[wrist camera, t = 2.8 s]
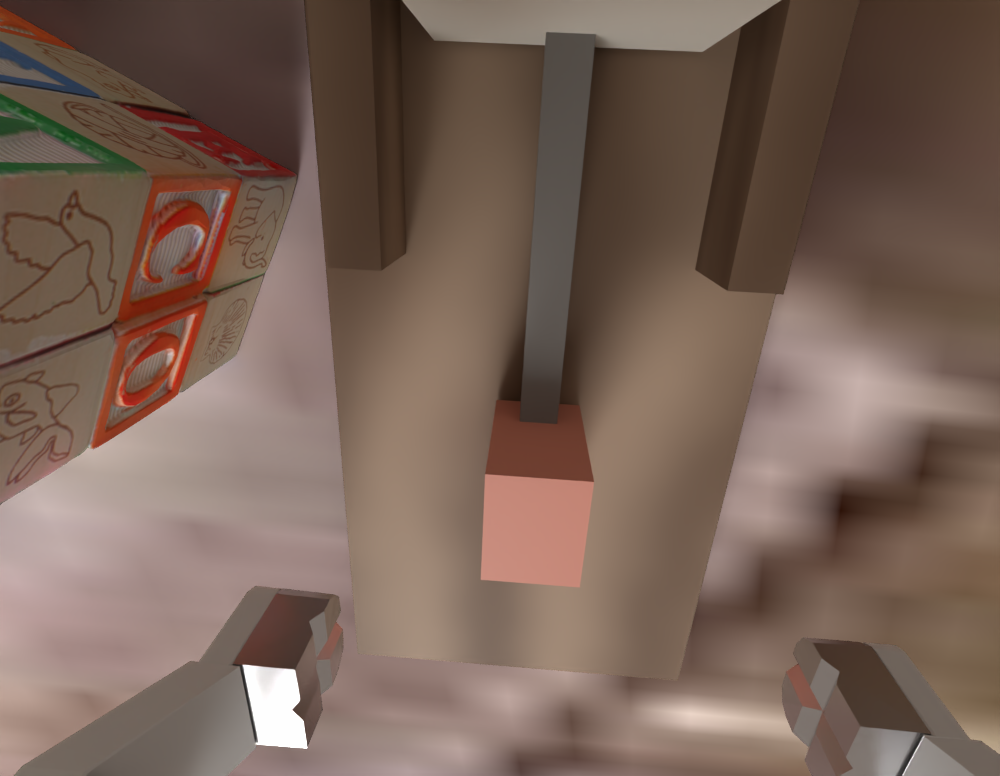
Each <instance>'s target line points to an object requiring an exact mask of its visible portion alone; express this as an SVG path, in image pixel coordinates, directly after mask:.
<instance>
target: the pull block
mask: <svg viewBox="0 0 1000 776" xmlns="http://www.w3.org/2000/svg"><path fill="white" fill-rule="evenodd" d="M402 1H403V2H404V4H405V5H406V6H407V7H408V8H409V10H410V11H411V12H412V13H413V15H414V16H415V17H416V18H417V20H418V21H419V22H420V23H421V25H422V26H423V27H424V28H425V30H426V31H427V32H428V33H429V35H430V36H431V37H432V38H433V40H434V41H458V42H481V43H505V44H528V45H545V52H544V67H543V81H542V96H541V111H540V125H539V140H538V155H537V170H536V184H535V199H534V214H533V228H532V243H531V258H530V273H529V287H528V302H527V317H526V331H525V346H524V361H523V376H522V390H521V401H506V400H496V407H495V413H494V420H493V426H492V433H491V439H490V446H489V452H488V459H487V465H486V472H485V489H484V513H483V537H482V562H481V580H490V581H503V582H516V583H529V584H541V585H554V586H567V587H580V582H581V575H582V567H583V560H584V553H585V546H586V538H587V531H588V524H589V516H590V509H591V502H592V494H593V487H594V478H593V473H592V468H591V463H590V457H589V452H588V447H587V442H586V437H585V431H584V426H583V421H582V416H581V411H580V405H567V404H559V400H560V390H561V380H562V370H563V360H564V350H565V340H566V330H567V320H568V309H569V299H570V289H571V279H572V269H573V259H574V249H575V239H576V229H577V219H578V209H579V199H580V189H581V179H582V169H583V159H584V149H585V139H586V129H587V119H588V108H589V98H590V88H591V78H592V68H593V58H594V48H595V47H598V48H622V49H645V50H669V51H692V52H703V51H705V50H706V49H708V48H709V47H711V46H712V45H714V44H715V43H717V42H718V41H720V40H721V39H723V38H724V37H726V36H727V35H729V34H731V33H732V32H734V31H735V30H737V29H738V28H740V27H741V26H743V25H744V24H746V23H747V22H749V21H750V20H752V19H753V18H755V17H756V16H758V15H759V14H761V13H762V12H764V11H766V10H767V9H769V8H770V7H772V6H773V5H775V4H776V3H778V2H779V1H781V0H402Z"/></svg>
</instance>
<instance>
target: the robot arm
mask: <svg viewBox="0 0 1000 776" xmlns="http://www.w3.org/2000/svg"><path fill="white" fill-rule="evenodd" d="M340 611H341V608H340V601H339V597H338V596H336V595H333V594H325V593H317V592H308V591H300V590H291V589H279V588H270V587H262V586H255V587H254V588H252V589H251V590H249V591H248V592H247V593H246V595H245V596H244V598H243V599H242V600H241V602H240V603H239V605H238V606H237V608H236V609H235V611H234V612H233V613H232V615H231V616H230V618H229V619H228V621H227V622H226V623H225V625H224V626H223V628H222V629H221V631H220V632H219V633H218V635H217V636H216V638H215V639H214V641H213V642H212V644H211V645H210V646H209V648H208V649H207V651H206V652H205V654H204V655H203V656H202V658H201V659H200V661H199V662H195V661H190V662H188V663H186V664H185V665H183V666H182V667H180V668H178V669H177V670H175V671H174V672H172V673H170V674H169V675H167V676H166V677H164V678H162V679H161V680H159V681H158V682H156V683H154V684H153V685H151V686H150V687H148V688H146V689H145V690H143V691H142V692H140V693H138V694H137V695H135V696H134V697H132V698H130V699H129V700H127V701H126V702H124V703H122V704H121V705H119V706H118V707H116V708H114V709H113V710H111V711H110V712H108V713H106V714H105V715H103V716H102V717H100V718H98V719H97V720H95V721H94V722H92V723H90V724H89V725H87V726H86V727H84V728H82V729H81V730H79V731H78V732H76V733H74V734H73V735H71V736H70V737H68V738H66V739H65V740H63V741H62V742H60V743H58V744H57V745H55V746H54V747H52V748H50V749H49V750H47V751H46V752H44V753H42V754H41V755H39V756H38V757H36V758H34V759H33V760H31V761H30V762H28V763H26V764H25V765H23V766H22V767H21V768H20V769H19V770H18V771H17V773H16V774H15V775H14V776H227V775H228V774H229V773H230V772H231V771H232V770H233V769H234V768H236V767H237V766H238V765H239V764H240V763H241V762H242V761H243V760H244V759H245V758H246V757H247V756H248V755H249V754H250V753H251V752H252V751H253V750H254V749H255V748H256V744H260V745H273V746H286V747H299V748H307V747H308V744H309V742H310V739H311V737H312V735H313V732H314V730H315V727H316V725H317V722H318V720H319V718H320V715H321V713H322V710H323V708H322V699H321V694H323V693H324V692H325V691H326V690H328V689H329V688H330V687H331V686H332V685H333V683H334V680H335V678H336V675H337V672H338V670H339V665H340V661H341V657H342V653H343V629H342V628H341V627H340V626H339V625H338V624H337V622H336V620H337V618H338V616H339V614H340ZM793 654H794V656H795V658H796V660H797V662H798V664H797V665H795V666H794V667H792V668H791V669H790V670H788V671H787V672H786V674H785V678H784V681H783V684H782V702H783V707H784V711H785V715H786V718H787V720H788V723H789V725H790V727H791V730H792V732H793V733H794V734H795V735H796V736H797V737H798V738H799V739H800V740H801V741H802V742H803V743H805V744H806V745H807V746H808V749H807V753H806V757H805V762H806V764H807V766H808V769H809V771H810V773H811V775H812V776H1000V754H998V753H997V752H996V751H994V750H993V749H991V748H990V747H989V746H987V745H986V744H984V743H983V742H982V741H978V740H970V738H969V737H968V736H967V734H966V733H965V732H964V730H963V729H962V728H961V726H960V725H959V724H958V722H957V721H956V720H955V718H954V717H953V716H952V714H951V713H950V712H949V710H948V709H947V708H946V706H945V705H944V704H943V702H942V701H941V700H940V698H939V697H938V696H937V694H936V693H935V692H934V690H933V689H932V688H931V686H930V685H929V684H928V682H927V681H926V680H925V678H924V677H923V676H922V674H921V673H920V672H919V670H918V669H917V668H916V666H915V665H914V664H913V662H912V661H911V660H910V658H909V657H908V656H907V654H906V653H905V652H904V651H903V650H902V649H900V648H899V647H897V646H896V645H887V644H875V643H860V642H852V641H840V640H828V639H815V638H802V639H801V640H800V641H798V642H797V644H796V647H795V649H794V652H793Z"/></svg>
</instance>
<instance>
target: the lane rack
mask: <svg viewBox="0 0 1000 776" xmlns="http://www.w3.org/2000/svg"><path fill="white" fill-rule="evenodd" d="M859 2H860V0H781V1H779V2H778V3H776V4H775V5H773V6H772V7H770V8H769V9H767V10H766V11H764V12H762V13H761V14H759V15H758V16H756V17H755V18H753V19H752V20H750V21H749V22H747V23H746V24H744V25H743V26H741V27H740V28H738V29H737V30H735V31H734V32H732V33H731V34H729V35H727V36H726V37H724V38H723V39H721V40H720V41H718V42H717V43H715V44H714V45H712V46H711V47H709V48H708V49H706V50H705V51H703V52H692V51H669V50H645V49H622V48H598V47H595V48H594V58H593V68H592V78H591V88H590V98H589V108H588V119H587V129H586V139H585V149H584V159H583V169H582V179H581V189H580V199H579V209H578V219H577V229H576V239H575V249H574V259H573V269H572V279H571V289H570V299H569V309H568V320H567V330H566V340H565V350H564V360H563V370H562V380H561V390H560V400H559V404H567V405H580V411H581V416H582V421H583V426H584V431H585V437H586V442H587V447H588V452H589V457H590V463H591V468H592V473H593V478H594V487H593V494H592V502H591V509H590V516H589V524H588V531H587V538H586V546H585V553H584V560H583V567H582V575H581V582H580V587H567V586H554V585H541V584H529V583H516V582H503V581H490V580H481V562H482V537H483V513H484V489H485V472H486V465H487V459H488V452H489V446H490V439H491V433H492V426H493V420H494V413H495V407H496V400H506V401H521V390H522V376H523V361H524V346H525V331H526V317H527V302H528V287H529V273H530V258H531V243H532V228H533V214H534V199H535V184H536V170H537V155H538V140H539V125H540V111H541V96H542V81H543V67H544V52H545V45H528V44H505V43H481V42H458V41H434V40H433V38H432V37H431V36H430V35H429V33H428V32H427V31H426V30H425V28H424V27H423V26H422V25H421V23H420V22H419V21H418V20H417V18H416V17H415V16H414V15H413V13H412V12H411V11H410V10H409V8H408V7H407V6H406V5H405V4H404V2H403V1H402V0H304V6H305V18H306V30H307V42H308V54H309V67H310V79H311V91H312V103H313V115H314V128H315V140H316V152H317V164H318V176H319V188H320V201H321V213H322V225H323V237H324V249H325V262H326V274H327V286H328V298H329V310H330V322H331V335H332V347H333V359H334V371H335V383H336V396H337V408H338V420H339V432H340V444H341V456H342V469H343V481H344V493H345V505H346V517H347V530H348V542H349V554H350V566H351V578H352V590H353V603H354V615H355V627H356V639H357V651H358V654H366V655H378V656H390V657H402V658H414V659H426V660H438V661H450V662H462V663H474V664H486V665H498V666H510V667H522V668H534V669H546V670H558V671H570V672H582V673H594V674H606V675H618V676H630V677H642V678H654V679H666V680H678V677H679V673H680V669H681V665H682V661H683V657H684V654H685V650H686V646H687V642H688V638H689V634H690V630H691V626H692V622H693V618H694V614H695V610H696V606H697V602H698V598H699V594H700V591H701V587H702V583H703V579H704V575H705V571H706V567H707V563H708V559H709V555H710V551H711V547H712V543H713V539H714V535H715V531H716V528H717V524H718V520H719V516H720V512H721V508H722V504H723V500H724V496H725V492H726V488H727V484H728V480H729V476H730V472H731V468H732V465H733V461H734V457H735V453H736V449H737V445H738V441H739V437H740V433H741V429H742V425H743V421H744V417H745V413H746V409H747V405H748V402H749V398H750V394H751V390H752V386H753V382H754V378H755V374H756V370H757V366H758V362H759V358H760V354H761V350H762V346H763V342H764V339H765V335H766V331H767V327H768V323H769V319H770V315H771V311H772V307H773V303H774V299H775V295H776V294H784V290H785V286H786V283H787V279H788V275H789V271H790V267H791V263H792V260H793V256H794V252H795V248H796V244H797V240H798V236H799V233H800V229H801V225H802V221H803V217H804V213H805V209H806V206H807V202H808V198H809V194H810V190H811V186H812V183H813V179H814V175H815V171H816V167H817V163H818V159H819V156H820V152H821V148H822V144H823V140H824V136H825V132H826V129H827V125H828V121H829V117H830V113H831V109H832V106H833V102H834V98H835V94H836V90H837V86H838V82H839V79H840V75H841V71H842V67H843V63H844V59H845V55H846V52H847V48H848V44H849V40H850V36H851V32H852V29H853V25H854V21H855V17H856V13H857V9H858V5H859Z"/></svg>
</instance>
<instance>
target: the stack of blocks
mask: <svg viewBox="0 0 1000 776" xmlns="http://www.w3.org/2000/svg"><path fill="white" fill-rule="evenodd" d="M296 181H297V174H295V173H293V172H292V171H290V170H288V169H286V168H285V167H283V166H281V165H279V164H277V163H275V162H273V161H271V160H269V159H268V158H266V157H264V156H262V155H260V154H258V153H256V152H254V151H253V150H251V149H249V148H247V147H245V146H243V145H242V144H240V143H238V142H236V141H234V140H232V139H230V138H228V137H227V136H225V135H223V134H222V133H220V132H218V131H216V130H214V129H212V128H210V127H208V126H207V125H205V124H203V123H202V122H200V121H196V120H193V119H191V118H190V117H189V114H188V113H187V111H186V110H185V109H183V108H181V107H179V106H177V105H176V104H174V103H172V102H170V101H168V100H167V99H165V98H163V97H161V96H160V95H158V94H156V93H154V92H152V91H151V90H149V89H147V88H145V87H143V86H142V85H140V84H138V83H136V82H134V81H133V80H131V79H129V78H127V77H125V76H124V75H122V74H120V73H118V72H116V71H115V70H113V69H111V68H109V67H107V66H106V65H104V64H102V63H100V62H98V61H96V60H95V59H93V58H91V57H89V56H87V55H84V54H82V53H79V52H78V51H77V50H76V49H75V48H73V47H72V46H70V45H68V44H67V43H65V42H63V41H62V40H60V39H58V38H56V37H55V36H53V35H51V34H49V33H47V32H46V31H44V30H42V29H40V28H38V27H37V26H35V25H33V24H31V23H30V22H28V21H26V20H24V19H22V18H21V17H19V16H17V15H15V14H14V13H12V12H10V11H8V10H7V9H5V8H3V7H1V6H0V504H2V503H3V502H5V501H6V500H8V499H10V498H11V497H13V496H15V495H16V494H18V493H19V492H21V491H23V490H24V489H26V488H27V487H29V486H31V485H32V484H34V483H35V482H37V481H39V480H40V479H42V478H44V477H45V476H47V475H49V474H50V473H52V472H54V471H55V470H57V469H58V468H60V467H61V466H63V465H65V464H66V463H67V462H69V461H70V460H71V459H73V458H75V457H77V456H79V455H80V454H81V453H83V452H84V451H85V450H86V449H87V448H90V449H92V450H94V449H95V448H97V447H99V446H101V445H102V444H104V443H106V442H107V441H109V440H110V439H112V438H114V437H115V436H117V435H118V434H120V433H121V432H123V431H124V430H126V429H128V428H129V427H131V426H132V425H134V424H135V423H137V422H138V421H140V420H141V419H143V418H144V417H146V416H147V415H149V414H150V413H152V412H154V411H155V410H157V409H158V408H160V407H161V406H163V405H164V404H166V403H167V402H169V401H171V400H172V399H173V398H174V397H175V396H176V395H178V393H179V392H183V391H185V390H186V389H188V388H189V387H190V386H192V385H193V384H195V383H196V382H198V381H199V380H201V379H202V378H204V377H205V376H207V375H209V374H210V373H211V372H213V371H214V370H216V369H217V368H219V367H220V366H222V365H223V364H225V363H226V362H228V361H229V360H231V359H232V358H234V357H235V356H236V354H237V351H238V348H239V345H240V342H241V339H242V337H243V334H244V331H245V328H246V325H247V322H248V320H249V317H250V314H251V311H252V308H253V305H254V302H255V300H256V297H257V294H258V292H259V289H260V286H261V283H262V280H263V275H264V273H265V271H266V270H267V268H268V266H269V263H270V261H271V258H272V255H273V252H274V250H275V247H276V244H277V242H278V239H279V236H280V233H281V230H282V227H283V224H284V221H285V218H286V215H287V212H288V209H289V206H290V202H291V199H292V195H293V192H294V188H295V185H296Z"/></svg>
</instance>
